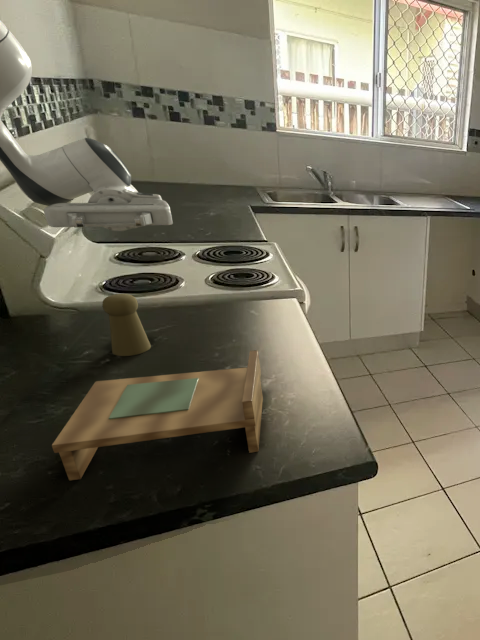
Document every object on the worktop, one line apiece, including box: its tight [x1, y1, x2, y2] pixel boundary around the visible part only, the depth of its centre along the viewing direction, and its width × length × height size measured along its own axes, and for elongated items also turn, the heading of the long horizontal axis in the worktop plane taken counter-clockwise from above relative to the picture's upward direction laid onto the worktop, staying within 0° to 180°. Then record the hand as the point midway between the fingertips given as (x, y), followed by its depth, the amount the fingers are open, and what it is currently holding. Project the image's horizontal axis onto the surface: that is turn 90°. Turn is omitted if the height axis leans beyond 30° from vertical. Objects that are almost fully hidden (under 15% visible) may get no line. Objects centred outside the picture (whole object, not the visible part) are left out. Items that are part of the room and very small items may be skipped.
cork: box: [101, 293, 152, 357], centre depth 90 cm, size 6×6×11 cm
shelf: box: [51, 349, 264, 481], centre depth 69 cm, size 22×16×9 cm
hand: (109, 222), depth 92 cm, fingers open, 8 cm apart
